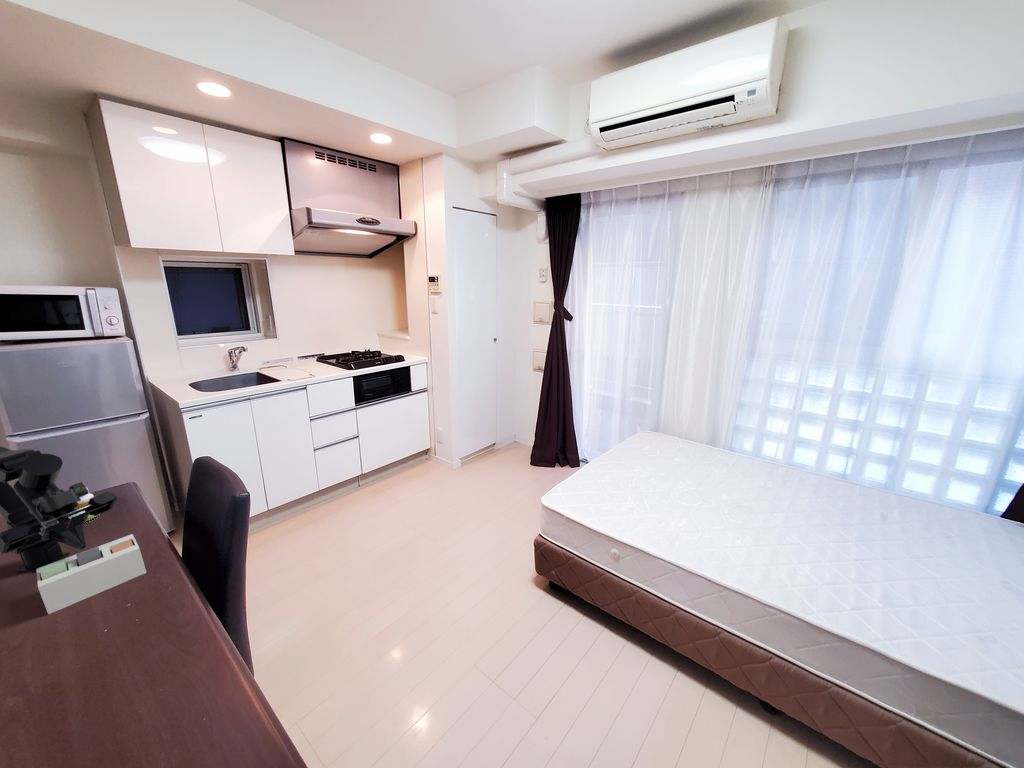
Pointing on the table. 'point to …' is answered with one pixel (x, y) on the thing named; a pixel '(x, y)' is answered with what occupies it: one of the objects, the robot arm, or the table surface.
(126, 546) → the terracotta button
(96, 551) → the charcoal button
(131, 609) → the table surface
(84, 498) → the supplement bottle
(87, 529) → the table surface
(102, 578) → the button console
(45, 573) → the sage-green button
